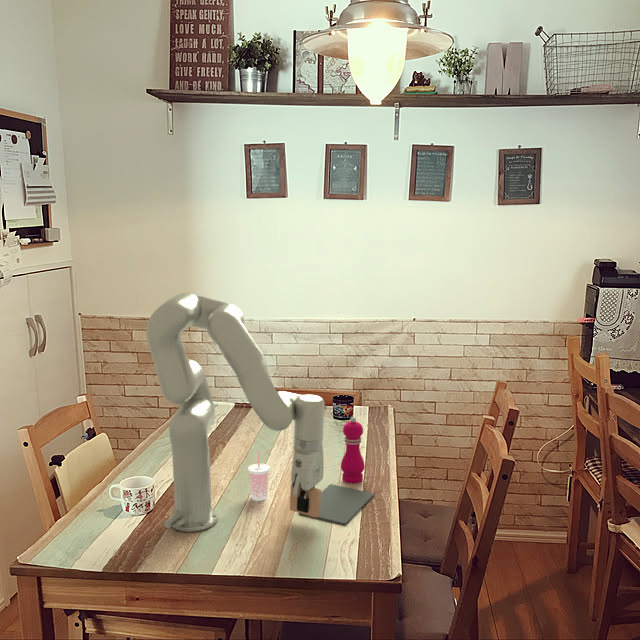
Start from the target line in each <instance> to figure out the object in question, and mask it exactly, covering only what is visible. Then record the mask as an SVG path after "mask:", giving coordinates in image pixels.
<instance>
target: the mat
mask: <svg viewBox="0 0 640 640" xmlns="http://www.w3.org/2000/svg"><path fill="white" fill-rule="evenodd" d="M374 496H375V493H374V492H370V491H364V490H361V489H355V488H352V487H346V486H342V485H337V484H332V483H331V484H329V485H328V486H327V487H325V488H324V489H323V490H321V506H320V515H319V516H318V517H317V518H316V517H312V516H309V515H305V514H302V513H298V512H297V513H298V515H301V516H305V517H308V518H313V519H317V520H321V521H325V522H329V523H333V522H334V524H337V523H340V524H339V525H341V524H344V525H343V526H346V525H348V523H349V522H350V521H351V520H352V519H353V518H354V517H355V516H356V515H357V514H358V513H359V512H360V511H361V510H362V509H363V508H364V507H365V506H366V505H367V504H366V503H369V502H370V500H372V498H374ZM365 504H366V505H365ZM364 505H365V506H364ZM363 506H364V507H363ZM362 507H363V508H362ZM361 508H362V509H361ZM360 509H361V510H360ZM359 510H360V511H359ZM358 511H359V512H358ZM357 512H358V513H357ZM356 513H357V514H356ZM355 514H356V515H355ZM354 515H355V516H354ZM353 516H354V517H353ZM352 517H353V518H352ZM351 518H352V519H351ZM350 519H351V520H350ZM349 520H350V521H349Z"/></svg>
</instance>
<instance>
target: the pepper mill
mask: <svg viewBox="0 0 640 640" xmlns="http://www.w3.org/2000/svg"><path fill="white" fill-rule="evenodd" d="M342 432H343V435H344V436H345V437H344V442H345V445H346V447H345V448H346V449H345V453H344V455H343V457H342V458H341V462H340V469H341V471H342V474H341V476H342V477H341V479H342V481H343V482H344V483H346V484H349V483H352V484H351V485H355V484H356V483H357V484H360V483H362V482H363V480H364V474H363V472H364V470H365V461H364V459H363V456H362V454H361V453H362V452H361V449H360V448H361V447H360V446H361V445H360V444H361V443H362V437H361V436H362V435H363V434H364V428H363V426H362V424H361V423H360V422H358V421H357V418H356V417H355V416H351V417H350V421H348V422H346V423H345V424H344V426H343V428H342Z"/></svg>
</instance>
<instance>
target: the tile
mask: <svg viewBox="0 0 640 640" xmlns="http://www.w3.org/2000/svg"><path fill="white" fill-rule="evenodd" d="M293 490H294V487H292V485H291V484H290V496H289V511H291V512H296V513H302V514H305V515H309V516H312V517H316V518H315V519H317V517H318V516H319V515H320V506H321V492H322V489H321V488H316V487H315V488H311V489H310V490H308V498H309V510H308V512H307V513H305V512H301V511H298V510H297V496H296V495H294V494H293ZM301 491H303V492H304V490H302V489H301ZM312 517H311V518H312Z"/></svg>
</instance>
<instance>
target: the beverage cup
mask: <svg viewBox="0 0 640 640" xmlns="http://www.w3.org/2000/svg"><path fill="white" fill-rule="evenodd" d="M247 469H248V470H247V472H248V475H249V486H250V499H251V500H253V501H257V502H259V501H264V500H267V499H268V492H269V489H268V488H269V472H270V465H269V464H267V463H260V450H257V463H254V464H251V465H249V466H248V467H247Z"/></svg>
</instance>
